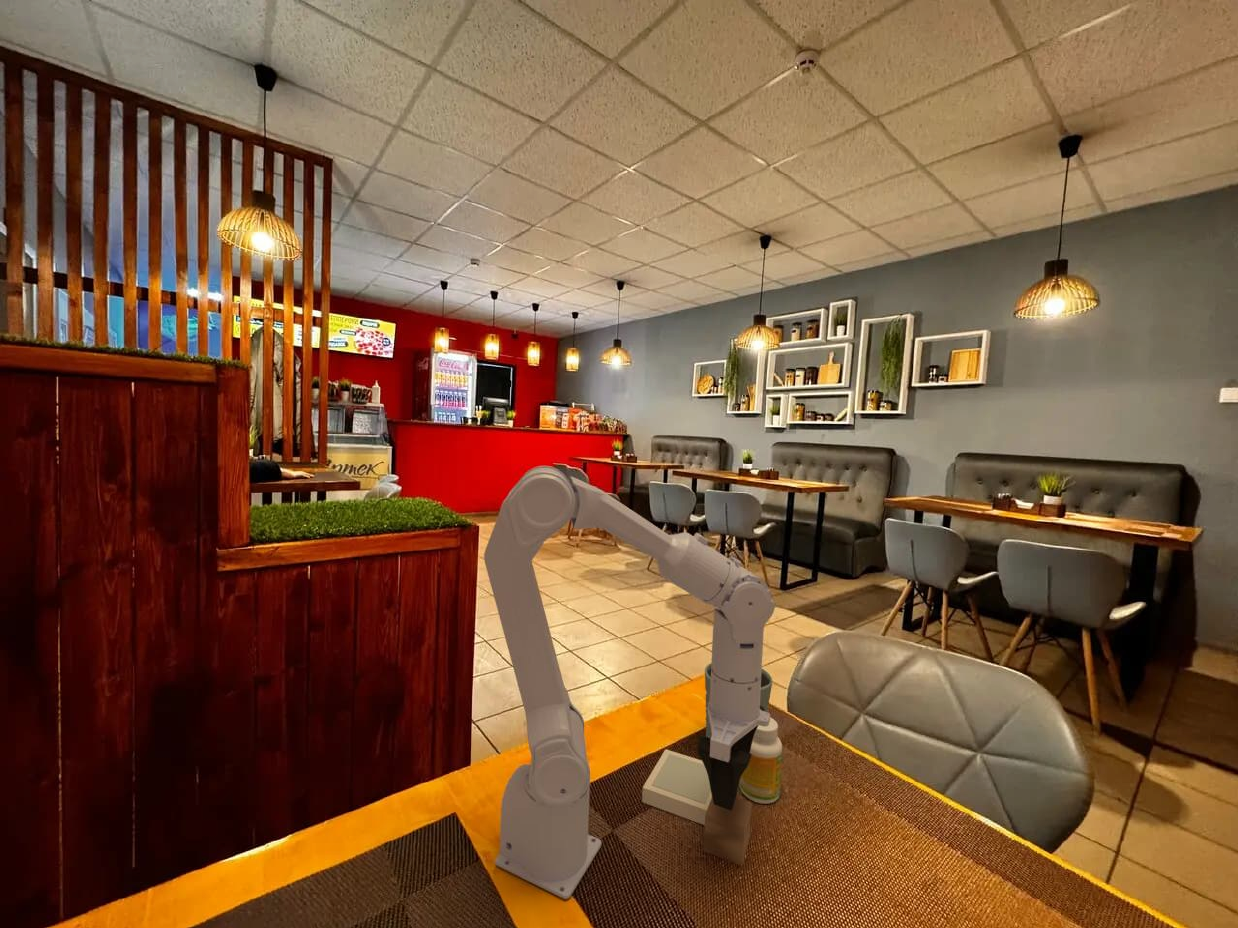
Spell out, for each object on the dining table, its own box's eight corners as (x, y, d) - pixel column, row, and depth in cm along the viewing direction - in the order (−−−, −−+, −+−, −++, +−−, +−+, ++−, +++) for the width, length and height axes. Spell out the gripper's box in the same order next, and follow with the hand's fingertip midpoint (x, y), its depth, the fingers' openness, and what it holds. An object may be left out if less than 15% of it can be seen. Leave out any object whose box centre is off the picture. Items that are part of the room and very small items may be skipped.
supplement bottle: (782, 808, 64) (786, 736, 64) (739, 801, 66) (743, 730, 65) (777, 780, 70) (781, 714, 69) (738, 774, 71) (741, 708, 70)
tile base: (642, 801, 65) (642, 786, 65) (664, 762, 73) (665, 748, 73) (709, 826, 61) (710, 810, 61) (725, 781, 69) (726, 767, 69)
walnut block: (703, 851, 57) (705, 814, 57) (712, 824, 61) (714, 789, 61) (742, 866, 56) (744, 828, 55) (749, 837, 60) (751, 802, 59)
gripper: (761, 710, 49) (754, 841, 50) (779, 654, 62) (774, 758, 63) (692, 693, 52) (687, 816, 53) (723, 643, 65) (719, 742, 66)
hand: (730, 783), depth 58 cm, fingers open, 7 cm apart
